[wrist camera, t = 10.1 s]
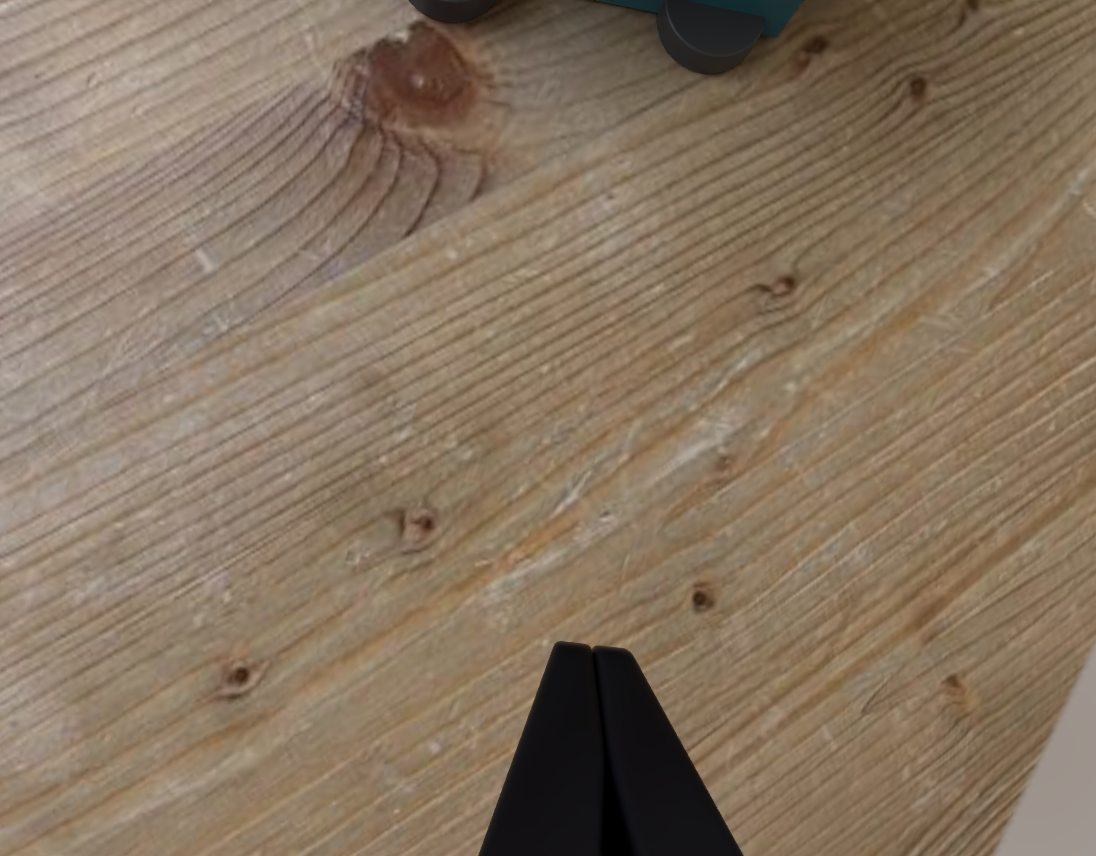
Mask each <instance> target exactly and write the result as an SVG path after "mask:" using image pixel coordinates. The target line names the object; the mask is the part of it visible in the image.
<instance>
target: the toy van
mask: <svg viewBox="0 0 1096 856" xmlns="http://www.w3.org/2000/svg"><path fill="white" fill-rule="evenodd" d="M409 1H410V2H411V3H412V5H413V6H415V7H416V8H417V9H418V10H419V11H421V12H422V13H424V14H425V15H427V16H429V17H431V18H434V19H436V20H440V21H445V22H464V21H468V20H471V19H474V18H476V17H478V16H480V15H482V14H483V13H485V12H486V11H487V10H488V9H489V8H490V7H491V6H492V5H493V4H494V3H495V1H496V0H409ZM597 1H601V2H606V3H611V4H616V5H621V6H625V7H630V8H635V9H640V10H644V11H649V12H654V13H657V29H658V33H659V37H660V39H661V42H662V44H663V46H664V47H665V49H666V50H667V52H668V53H669V54H670V55H671V57H672V58H673V59H675V60H676V61H677V62H678V63H679V64H681V65H682V66H684V67H686V68H688V69H690V70H693V71H696V72H700V73H706V74H714V73H720V72H724V71H727V70H729V69H732V68H733V67H735V66H737V65H738V64H739V63H740V62H742V61H743V59H744V58H745V57H746V56H747V54H748V53H749V51H750V50H751V48H752V47H753V45H754V44H755V43H756V41H757V40H758V38H759V37H760V35H764V36H769V37H774V38H775V37H778V35H779V34H780V32H781V31H782V30H783V28H784V27H785V25H786V24H787V23H788V21H789V20H790V18H791V17H792V16H793V14H794V13H795V11H796V10H797V9H798V7H799V6H800V4H801V3H802V2H803V0H597Z"/></svg>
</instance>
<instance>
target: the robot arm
mask: <svg viewBox="0 0 1096 856" xmlns="http://www.w3.org/2000/svg"><path fill="white" fill-rule="evenodd" d="M478 856H743V854H742V852H741V850H740V848H739V847H738V845H737V843H736V841H735V839H734V838H733V836H732V834H731V832H730V830H729V828H728V827H727V825H726V823H725V821H724V819H723V818H722V816H721V814H720V812H719V810H718V809H717V807H716V805H715V803H714V801H713V799H712V798H711V796H710V794H709V792H708V790H707V789H706V787H705V785H704V783H703V781H702V779H701V778H700V776H699V774H698V772H697V770H696V769H695V767H694V765H693V763H692V761H691V760H690V758H689V756H688V754H687V752H686V750H685V749H684V747H683V745H682V743H681V741H680V740H679V738H678V736H677V734H676V732H675V731H674V729H673V727H672V725H671V723H670V721H669V720H668V718H667V716H666V714H665V712H664V711H663V709H662V707H661V705H660V703H659V701H658V700H657V698H656V696H655V694H654V692H653V691H652V689H651V687H650V685H649V683H648V682H647V680H646V678H645V676H644V674H643V672H642V671H641V669H640V667H639V665H638V663H637V662H636V660H635V658H634V656H633V655H632V653H631V652H629V651H628V650H627V649H624V648H617V647H608V646H595V647H593V648H592V649H591V647H590V646H589V645H587V644H582V643H573V642H564V641H558V642H556V643H555V645H554V647H553V649H552V652H551V655H550V658H549V660H548V663H547V666H546V669H545V672H544V674H543V677H542V680H541V683H540V685H539V688H538V691H537V694H536V697H535V699H534V702H533V705H532V708H531V710H530V713H529V716H528V719H527V722H526V724H525V727H524V730H523V733H522V736H521V738H520V741H519V744H518V747H517V749H516V752H515V755H514V758H513V761H512V763H511V766H510V769H509V772H508V774H507V777H506V780H505V783H504V786H503V788H502V791H501V794H500V797H499V799H498V802H497V805H496V808H495V811H494V813H493V816H492V819H491V822H490V825H489V827H488V830H487V833H486V836H485V838H484V841H483V844H482V847H481V850H480V852H479V855H478Z"/></svg>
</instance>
